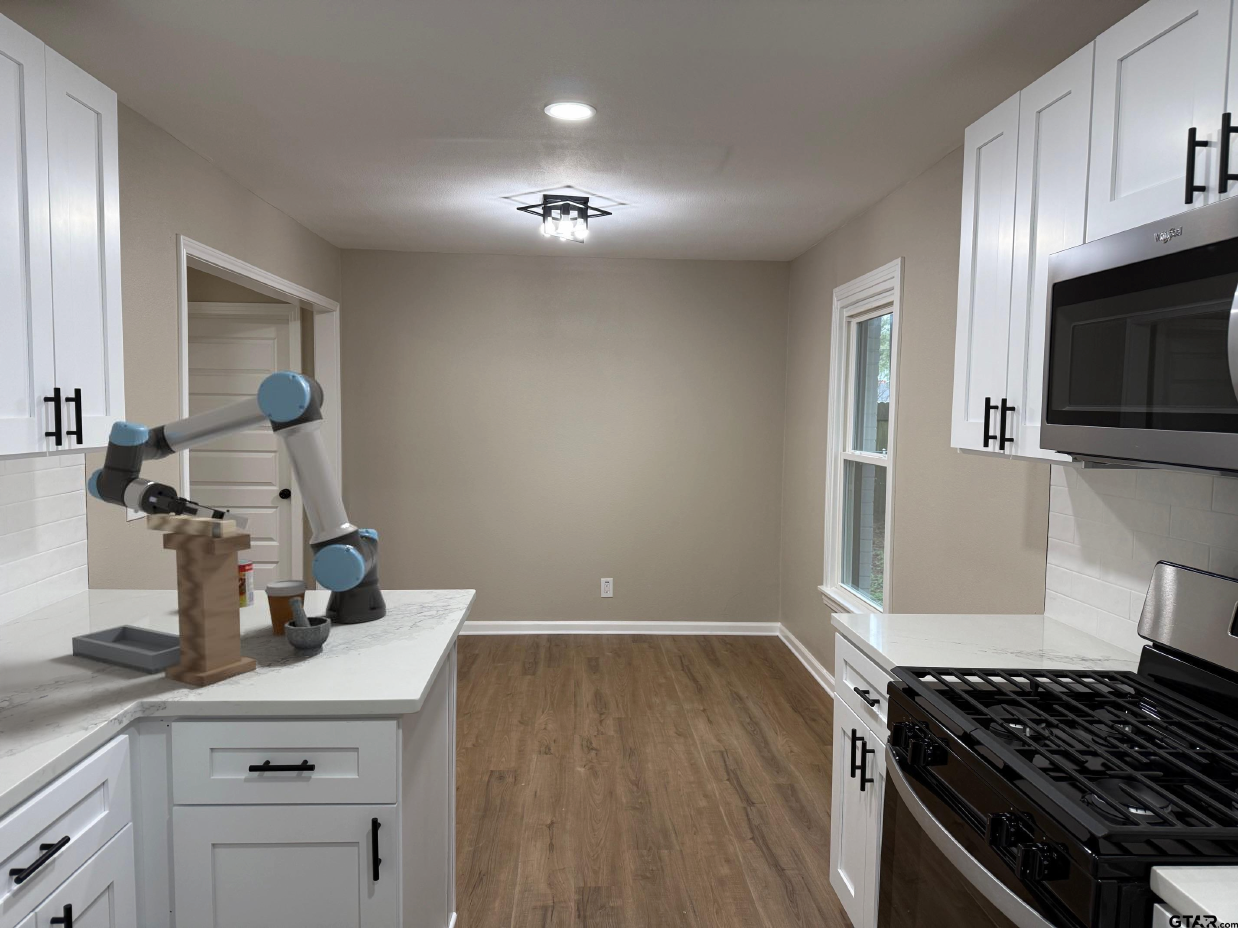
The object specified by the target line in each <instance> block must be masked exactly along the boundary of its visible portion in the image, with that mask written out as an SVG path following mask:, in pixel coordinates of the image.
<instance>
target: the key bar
mask: <svg viewBox="0 0 1238 928" xmlns="http://www.w3.org/2000/svg"><path fill="white" fill-rule="evenodd" d="M146 530H151V531H160V532H167V533H173V532H177V533H185V534H194V535H203V536H212V537H218V538H219V537H221V538H224V537H231V536H236V533H237V527H236V521H234V520H223V519H212V518H202V517H191V516H186V515H182V514H181V515H175V514H172V513H170V514H152V515H150V514H147V515H146Z"/></svg>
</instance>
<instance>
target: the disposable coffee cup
mask: <svg viewBox="0 0 1238 928" xmlns="http://www.w3.org/2000/svg"><path fill="white" fill-rule="evenodd" d="M306 584H307V583H306V582H305V580H302V579H300V580H299V579H284V580H283V579H282V580H276V581H271V582H269V583H267V584H266V588H265V589H264V592H265V594H266V596H267V602H268V608H269V615H270V621H271V625H272V631H273V634H274V635H276V636H285V623H286V622H288V621H291V620H294V617H293V613H292V609H291V605H290V604H289V602H288V601H289V600H290V599H292V598H295V597H300V598H301V603H302V606H303V609H305V608H304V607H305V599H306V598H305V597H306V592H307V589H308V585H306Z"/></svg>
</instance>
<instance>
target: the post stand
mask: <svg viewBox="0 0 1238 928" xmlns="http://www.w3.org/2000/svg"><path fill="white" fill-rule="evenodd" d="M251 541H252V540H251V533H243V532H242V533H241V532H236V536H231V537H224V538H221V537H219V538H218V537H212V536H203V535H194V534H185V533H177V532H167V533H163V534H162V544H163V545H162V547H163V549H165V550H173V551H175V559H176V560H175V561H176V586H177V608H178V609H177V610H178V635H179V640H180V663H179V664H176V665H173V666H169V667H166V668H165V671H164V678H165V679H169V678H171V679H170V680H174V679H175V681H178V682H182V681H184V682H183V683H186V682H187V683H186V684H190V683H191V685H196V686H199V687H203V686H204V687H203V688H205V687H207V685H208V686H210V684H211V685H213V684H217V683H219V681H220V682H223V681H226V680H228V679H227V678H229V679H232V678H234V676H235V677H237V676H236V675H238V676H240V674H241V675H243V673H244V674H246V672H247V673H249V672H252V671H255V670H257V660H256V659H253V658H249V657H244V656H242V647H241V646H242V643H241V642H242V641H241V615H240V611H241V610H240V608H239V579H238V559H239V558H238V557H239V555H238V554H239V553H238V552H240V551H246V550H250V549H251V548H252V547H251V545H252V544H251ZM251 550H252V549H251ZM231 677H232V678H231ZM225 679H226V680H225ZM222 680H223V681H222ZM216 682H217V683H216Z"/></svg>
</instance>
